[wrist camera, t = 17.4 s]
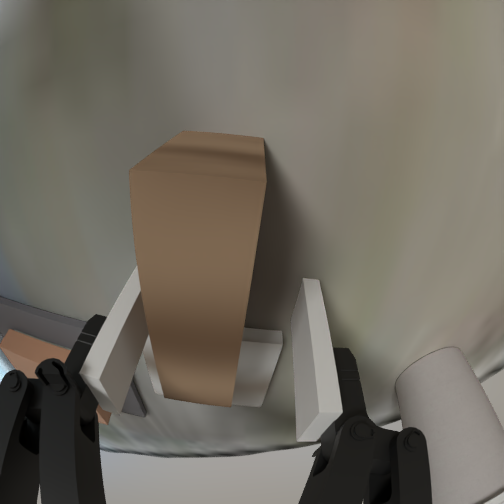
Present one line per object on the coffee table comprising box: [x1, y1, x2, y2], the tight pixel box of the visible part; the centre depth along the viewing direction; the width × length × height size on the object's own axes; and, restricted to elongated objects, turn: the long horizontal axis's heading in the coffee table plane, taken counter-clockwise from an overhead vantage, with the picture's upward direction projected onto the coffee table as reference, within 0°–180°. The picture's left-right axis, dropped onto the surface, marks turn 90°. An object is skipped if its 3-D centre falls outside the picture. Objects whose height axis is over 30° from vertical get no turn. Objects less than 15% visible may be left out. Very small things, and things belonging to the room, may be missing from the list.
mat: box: [0, 297, 146, 417], centre depth 19 cm, size 13×14×1 cm
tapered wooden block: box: [129, 131, 283, 407], centre depth 13 cm, size 18×8×5 cm, turn 173°
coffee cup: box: [395, 347, 504, 504], centre depth 13 cm, size 10×10×15 cm
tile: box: [0, 329, 111, 425], centre depth 18 cm, size 2×8×9 cm
